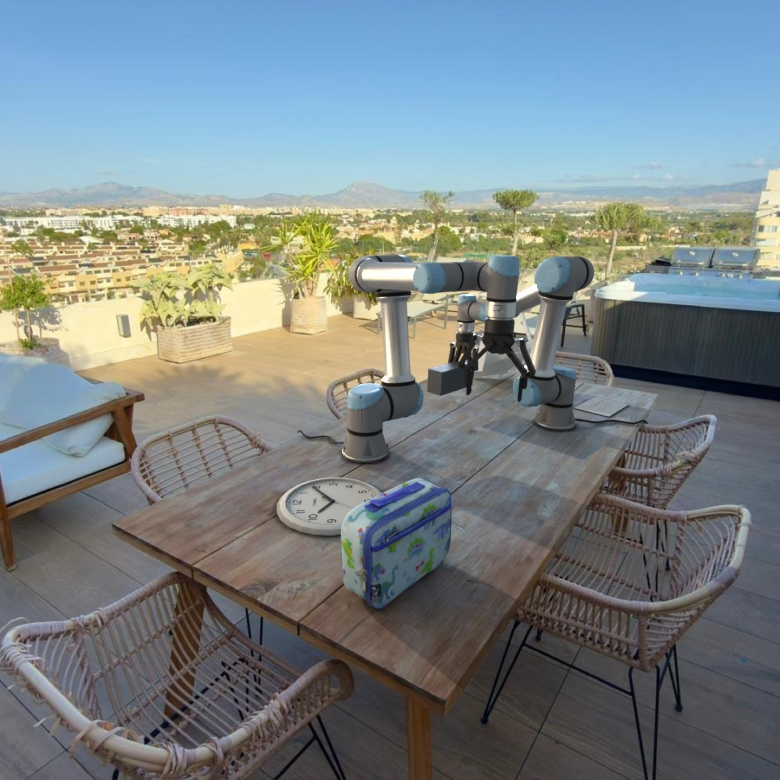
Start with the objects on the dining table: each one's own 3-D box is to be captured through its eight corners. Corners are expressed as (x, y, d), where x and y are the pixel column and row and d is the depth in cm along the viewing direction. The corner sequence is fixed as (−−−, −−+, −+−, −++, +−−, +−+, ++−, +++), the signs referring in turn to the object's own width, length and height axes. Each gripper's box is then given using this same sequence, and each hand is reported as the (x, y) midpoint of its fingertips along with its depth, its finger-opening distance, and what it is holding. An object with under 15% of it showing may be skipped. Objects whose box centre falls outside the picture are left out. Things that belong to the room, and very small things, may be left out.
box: (459, 381, 231) (460, 360, 228) (472, 385, 226) (474, 363, 223) (427, 391, 217) (428, 368, 214) (440, 395, 212) (441, 372, 209)
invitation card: (608, 416, 214) (573, 407, 224) (608, 416, 214) (573, 408, 224) (628, 404, 229) (594, 396, 238) (628, 405, 229) (594, 397, 238)
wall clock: (392, 527, 129) (268, 531, 127) (391, 533, 130) (269, 537, 127) (383, 473, 158) (282, 475, 155) (383, 478, 158) (282, 480, 156)
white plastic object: (488, 419, 266) (468, 396, 241) (469, 346, 288) (449, 319, 263) (559, 395, 254) (545, 368, 229) (533, 321, 276) (519, 290, 251)
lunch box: (370, 622, 101) (370, 527, 94) (335, 595, 108) (333, 505, 102) (455, 565, 118) (460, 481, 112) (420, 544, 125) (423, 465, 119)
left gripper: (448, 316, 134) (444, 394, 141) (549, 324, 126) (540, 407, 132) (456, 312, 141) (452, 387, 147) (552, 319, 132) (543, 398, 139)
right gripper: (440, 329, 224) (438, 380, 231) (479, 336, 210) (475, 390, 217) (451, 327, 229) (448, 377, 236) (490, 334, 215) (486, 387, 222)
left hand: (493, 397), depth 140 cm, fingers open, 13 cm apart
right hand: (461, 383), depth 227 cm, fingers closed on box, 7 cm apart
